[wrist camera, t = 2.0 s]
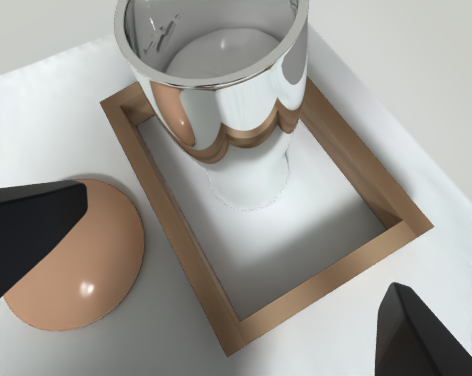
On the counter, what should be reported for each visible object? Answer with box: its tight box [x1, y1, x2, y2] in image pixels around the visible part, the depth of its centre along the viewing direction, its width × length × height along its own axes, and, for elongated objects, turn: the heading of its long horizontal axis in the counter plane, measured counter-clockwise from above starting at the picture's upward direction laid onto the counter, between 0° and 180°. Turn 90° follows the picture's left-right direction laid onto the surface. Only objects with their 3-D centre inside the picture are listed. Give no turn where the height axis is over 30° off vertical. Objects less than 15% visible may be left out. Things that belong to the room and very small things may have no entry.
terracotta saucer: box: [3, 179, 145, 331], centre depth 24 cm, size 11×11×1 cm
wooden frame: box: [100, 76, 434, 357], centre depth 23 cm, size 14×20×3 cm
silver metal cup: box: [114, 0, 309, 211], centre depth 18 cm, size 7×7×15 cm
